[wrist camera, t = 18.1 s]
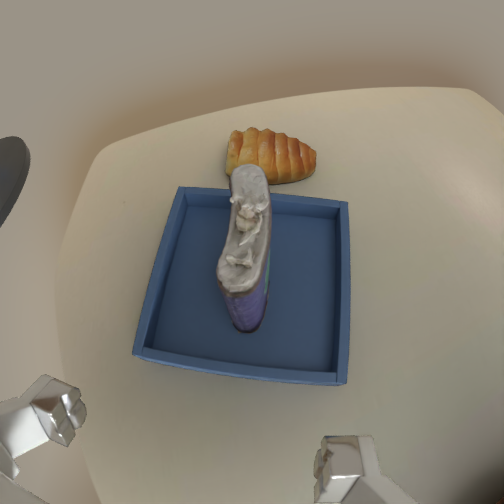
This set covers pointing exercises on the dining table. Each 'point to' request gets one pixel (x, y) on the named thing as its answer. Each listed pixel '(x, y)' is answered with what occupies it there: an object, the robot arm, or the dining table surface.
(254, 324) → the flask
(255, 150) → the pastry
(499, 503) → the jug
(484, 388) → the dining table surface
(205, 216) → the blue tray
